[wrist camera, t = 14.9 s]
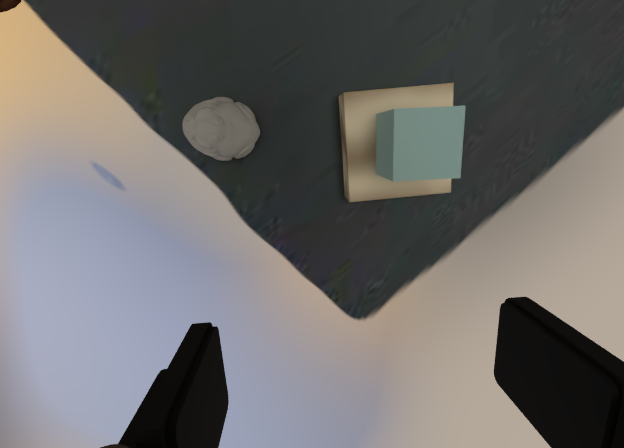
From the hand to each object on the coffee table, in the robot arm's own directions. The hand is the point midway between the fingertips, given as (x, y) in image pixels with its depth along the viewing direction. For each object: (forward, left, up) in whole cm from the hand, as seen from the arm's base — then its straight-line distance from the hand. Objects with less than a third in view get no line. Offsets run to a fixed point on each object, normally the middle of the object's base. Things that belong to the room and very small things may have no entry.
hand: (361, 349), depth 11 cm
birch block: (-6, +9, -29) cm, 31 cm away
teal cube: (-6, +10, -25) cm, 27 cm away
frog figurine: (-8, -8, -29) cm, 31 cm away
